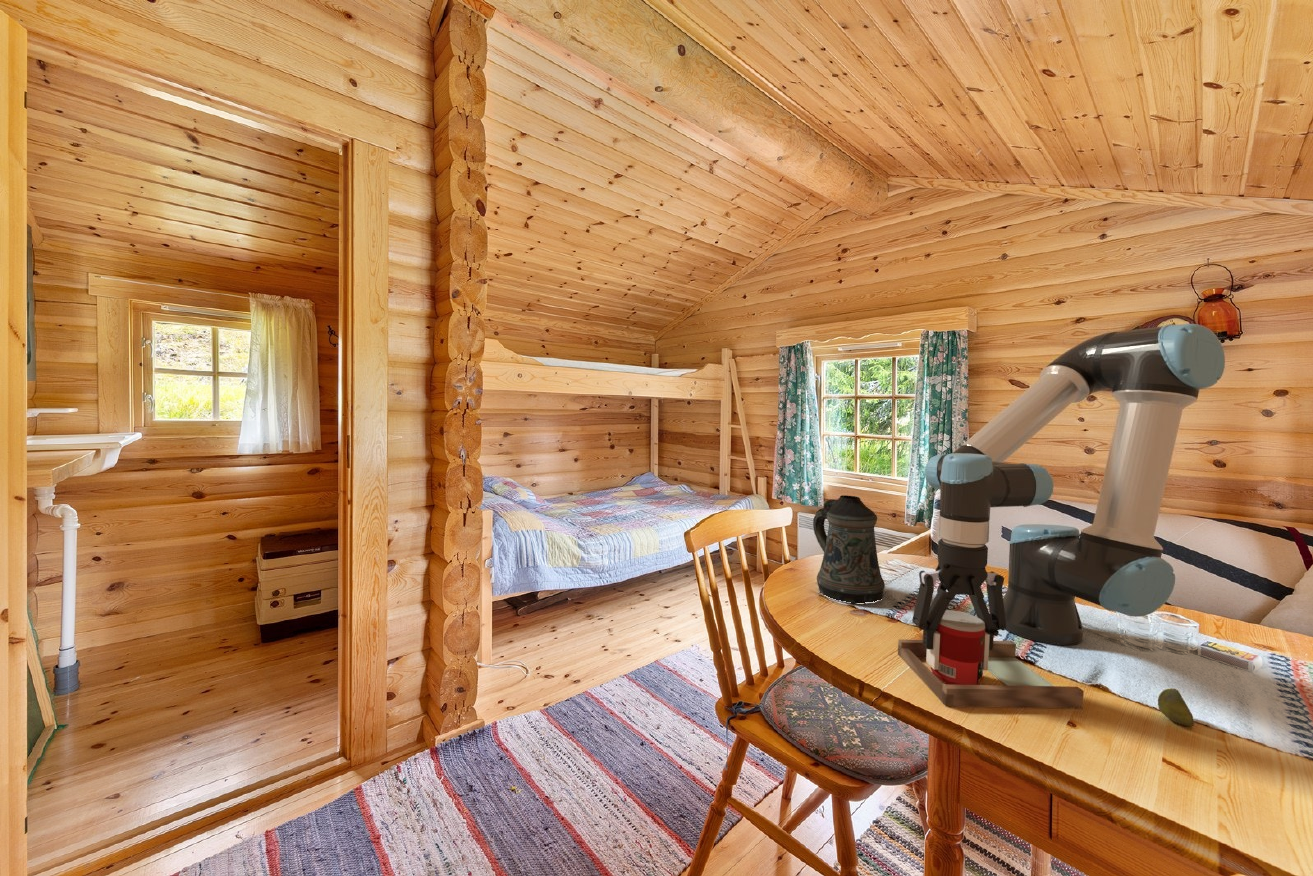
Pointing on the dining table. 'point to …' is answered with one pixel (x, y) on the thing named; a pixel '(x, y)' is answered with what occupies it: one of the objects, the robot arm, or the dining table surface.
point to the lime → (1175, 707)
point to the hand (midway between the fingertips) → (956, 665)
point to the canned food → (960, 649)
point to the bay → (1017, 691)
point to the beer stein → (848, 551)
